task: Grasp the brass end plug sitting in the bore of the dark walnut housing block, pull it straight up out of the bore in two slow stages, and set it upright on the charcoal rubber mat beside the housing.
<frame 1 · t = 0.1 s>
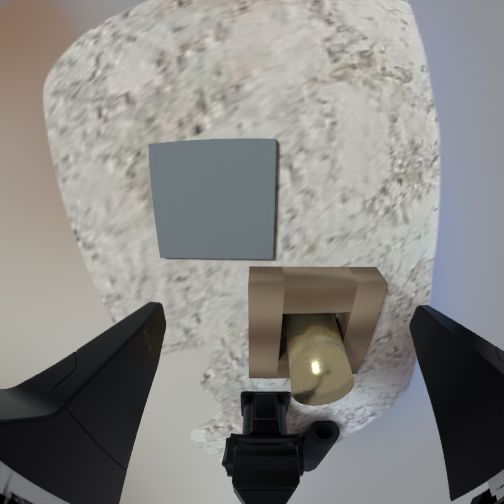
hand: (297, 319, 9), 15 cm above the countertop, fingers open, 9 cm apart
housing: (309, 318, 27), on the countertop
end plug: (309, 318, 27), resting in housing
pipe connector: (295, 437, 40), on the countertop
mat: (212, 200, 22), on the countertop
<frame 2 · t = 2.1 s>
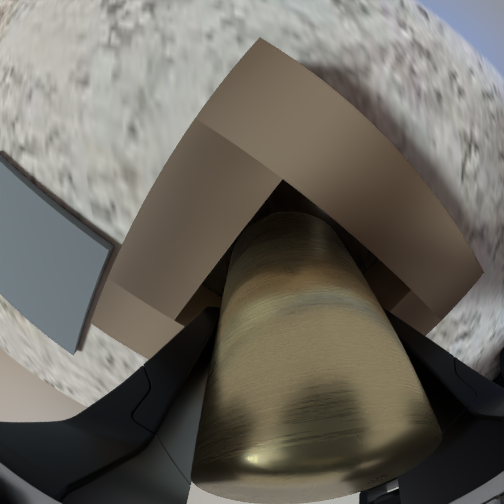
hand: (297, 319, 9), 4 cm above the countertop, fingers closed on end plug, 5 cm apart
housing: (288, 266, 12), on the countertop
end plug: (288, 266, 12), resting in housing, touching gripper
mat: (29, 262, 12), on the countertop
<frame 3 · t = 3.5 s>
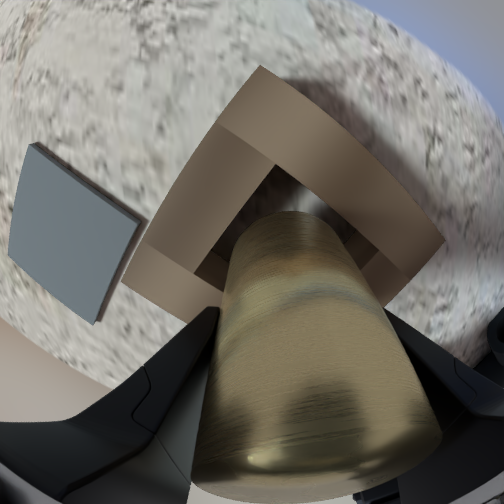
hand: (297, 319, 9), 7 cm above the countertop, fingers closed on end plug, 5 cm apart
housing: (282, 236, 15), on the countertop
end plug: (288, 266, 12), point 3 cm above the countertop, touching gripper
pipe connector: (486, 356, 21), on the countertop
mat: (59, 239, 15), on the countertop
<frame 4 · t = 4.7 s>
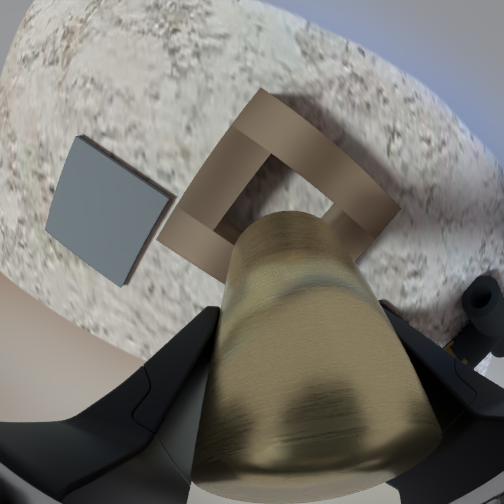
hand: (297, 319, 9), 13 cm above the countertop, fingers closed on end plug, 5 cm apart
housing: (277, 208, 20), on the countertop
end plug: (288, 266, 12), point 9 cm above the countertop, touching gripper
pipe connector: (467, 327, 26), on the countertop
mat: (98, 214, 20), on the countertop
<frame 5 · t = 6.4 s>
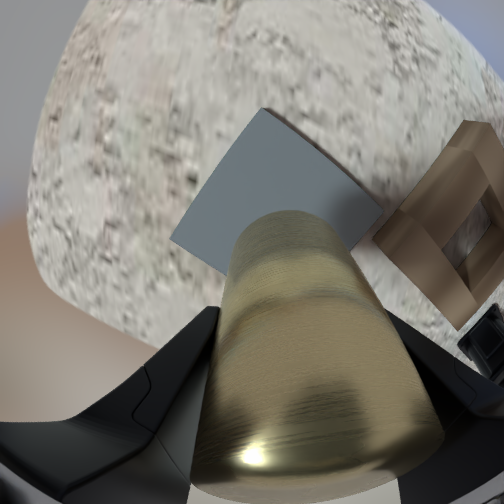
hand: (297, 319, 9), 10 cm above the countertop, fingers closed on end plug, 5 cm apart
housing: (460, 227, 17), on the countertop
end plug: (288, 265, 12), point 6 cm above the countertop, touching gripper
mat: (277, 220, 17), on the countertop
when the fingers open (5 cm above the countertop, at t = 7.4 s): end plug drops 1 cm, resting on mat.
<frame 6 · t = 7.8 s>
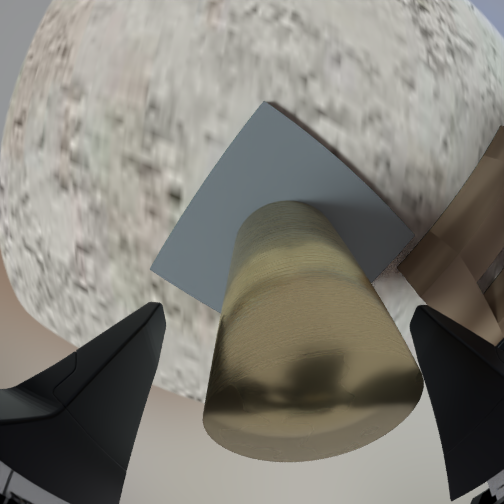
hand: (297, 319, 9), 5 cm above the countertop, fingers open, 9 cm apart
housing: (491, 249, 13), on the countertop
end plug: (286, 251, 13), point 1 cm above the countertop, touching mat
mat: (284, 247, 14), on the countertop
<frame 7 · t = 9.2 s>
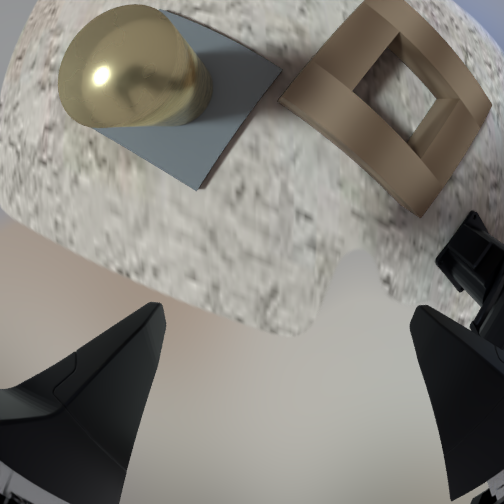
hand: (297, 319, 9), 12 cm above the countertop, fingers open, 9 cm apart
housing: (392, 95, 15), on the countertop
end plug: (175, 90, 15), point 1 cm above the countertop, touching mat
mat: (176, 92, 15), on the countertop
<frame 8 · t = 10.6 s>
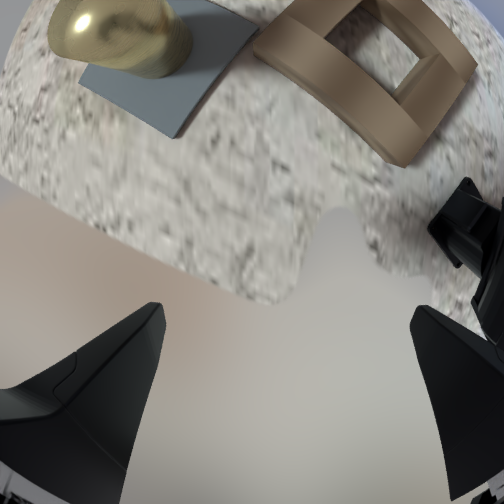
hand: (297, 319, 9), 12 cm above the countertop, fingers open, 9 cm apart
housing: (371, 52, 14), on the countertop
end plug: (158, 47, 14), point 1 cm above the countertop, touching mat
mat: (159, 50, 14), on the countertop
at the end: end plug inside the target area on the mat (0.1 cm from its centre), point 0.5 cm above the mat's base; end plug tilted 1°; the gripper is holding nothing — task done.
